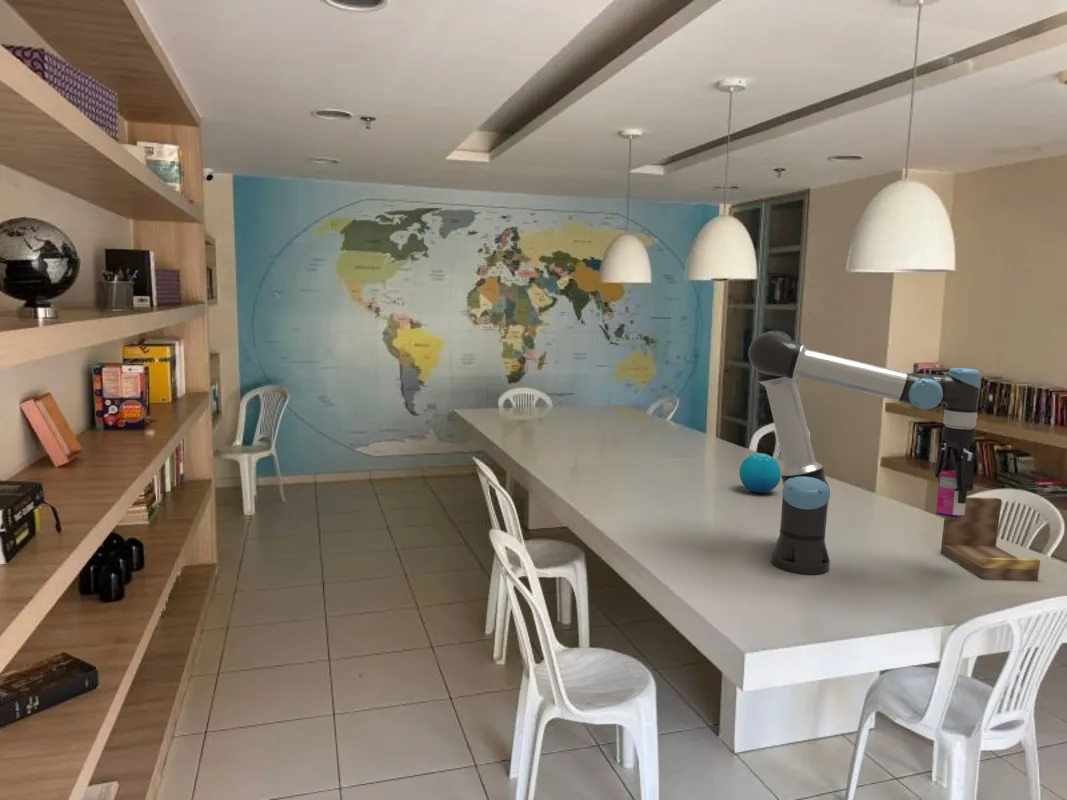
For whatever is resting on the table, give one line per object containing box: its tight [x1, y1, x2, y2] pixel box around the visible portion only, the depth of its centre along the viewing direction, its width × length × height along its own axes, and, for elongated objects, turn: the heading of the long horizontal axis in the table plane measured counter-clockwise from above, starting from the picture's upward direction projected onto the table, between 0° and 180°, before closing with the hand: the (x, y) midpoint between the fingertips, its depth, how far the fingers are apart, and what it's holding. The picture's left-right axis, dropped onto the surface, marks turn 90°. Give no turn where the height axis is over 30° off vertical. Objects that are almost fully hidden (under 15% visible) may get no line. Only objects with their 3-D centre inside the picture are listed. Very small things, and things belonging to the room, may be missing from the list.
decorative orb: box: [739, 452, 782, 494], centre depth 279 cm, size 15×15×15 cm
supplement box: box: [935, 470, 963, 518], centre depth 199 cm, size 6×6×12 cm
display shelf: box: [940, 496, 1041, 581], centre depth 206 cm, size 15×20×17 cm
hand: (950, 509), depth 200 cm, fingers closed on supplement box, 8 cm apart
